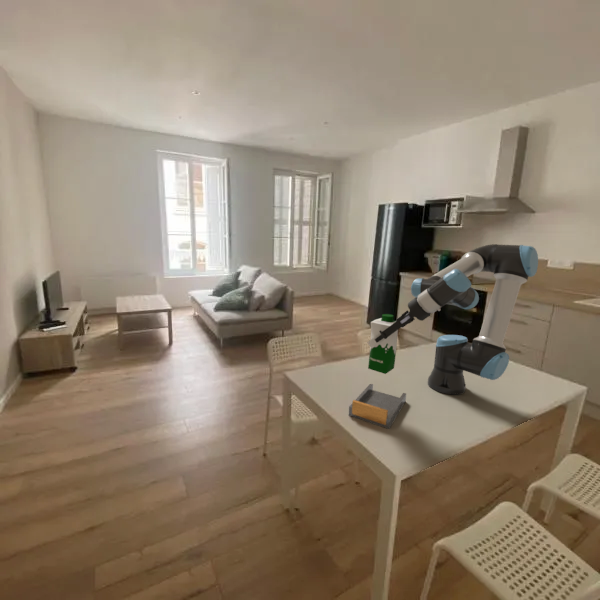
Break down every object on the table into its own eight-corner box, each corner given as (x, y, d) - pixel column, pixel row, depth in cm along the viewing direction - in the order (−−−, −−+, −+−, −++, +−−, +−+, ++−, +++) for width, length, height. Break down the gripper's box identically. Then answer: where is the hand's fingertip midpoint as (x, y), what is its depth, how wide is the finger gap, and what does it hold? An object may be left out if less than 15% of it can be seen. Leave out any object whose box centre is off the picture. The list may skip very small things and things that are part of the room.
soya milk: (397, 368, 119) (402, 316, 116) (386, 375, 113) (391, 320, 109) (375, 362, 125) (379, 312, 121) (364, 368, 118) (368, 316, 114)
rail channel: (369, 391, 135) (370, 378, 134) (405, 401, 128) (406, 387, 127) (348, 415, 117) (349, 400, 116) (389, 428, 109) (390, 413, 108)
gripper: (424, 321, 97) (370, 359, 109) (437, 308, 115) (389, 342, 127) (408, 301, 99) (356, 341, 110) (423, 292, 117) (377, 326, 128)
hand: (374, 341), depth 119 cm, fingers closed on soya milk, 9 cm apart
